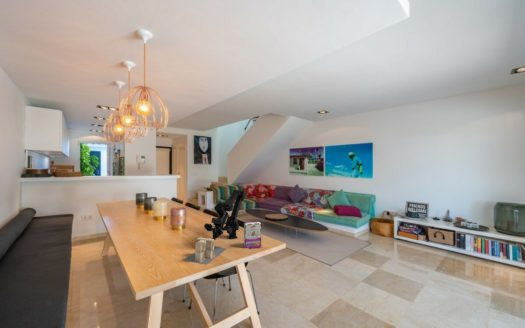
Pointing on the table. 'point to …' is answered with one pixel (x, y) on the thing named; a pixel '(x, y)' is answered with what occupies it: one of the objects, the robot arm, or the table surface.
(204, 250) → the maple T block
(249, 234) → the candy bar box
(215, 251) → the slate board
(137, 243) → the table surface
